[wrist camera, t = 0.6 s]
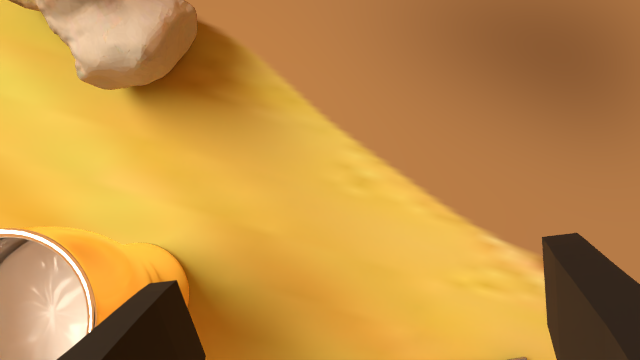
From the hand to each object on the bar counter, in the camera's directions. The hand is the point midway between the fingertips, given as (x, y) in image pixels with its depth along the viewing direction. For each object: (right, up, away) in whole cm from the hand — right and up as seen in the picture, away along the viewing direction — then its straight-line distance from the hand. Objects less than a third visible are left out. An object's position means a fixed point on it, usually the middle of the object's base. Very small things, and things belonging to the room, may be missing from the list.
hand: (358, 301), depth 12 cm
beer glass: (-11, -4, +24) cm, 27 cm away
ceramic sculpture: (-13, +13, +27) cm, 33 cm away
